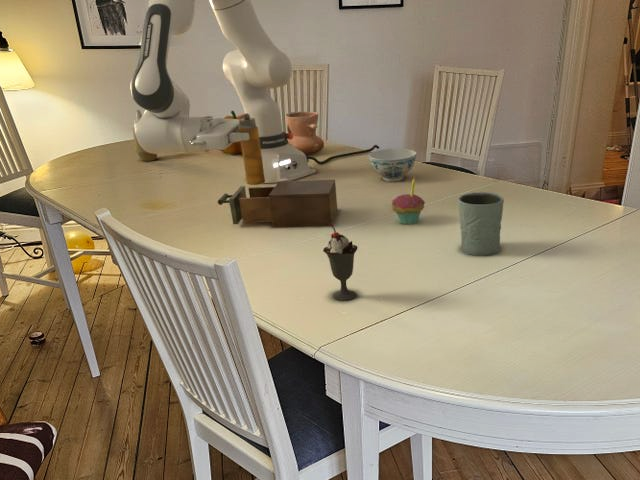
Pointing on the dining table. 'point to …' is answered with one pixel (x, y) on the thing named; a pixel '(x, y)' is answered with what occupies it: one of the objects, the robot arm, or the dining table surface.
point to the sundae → (341, 263)
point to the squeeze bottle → (141, 152)
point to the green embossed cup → (480, 222)
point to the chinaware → (392, 163)
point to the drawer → (249, 204)
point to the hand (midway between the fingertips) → (252, 133)
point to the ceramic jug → (304, 132)
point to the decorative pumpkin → (235, 146)
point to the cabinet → (303, 203)
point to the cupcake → (408, 206)
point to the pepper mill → (251, 151)
